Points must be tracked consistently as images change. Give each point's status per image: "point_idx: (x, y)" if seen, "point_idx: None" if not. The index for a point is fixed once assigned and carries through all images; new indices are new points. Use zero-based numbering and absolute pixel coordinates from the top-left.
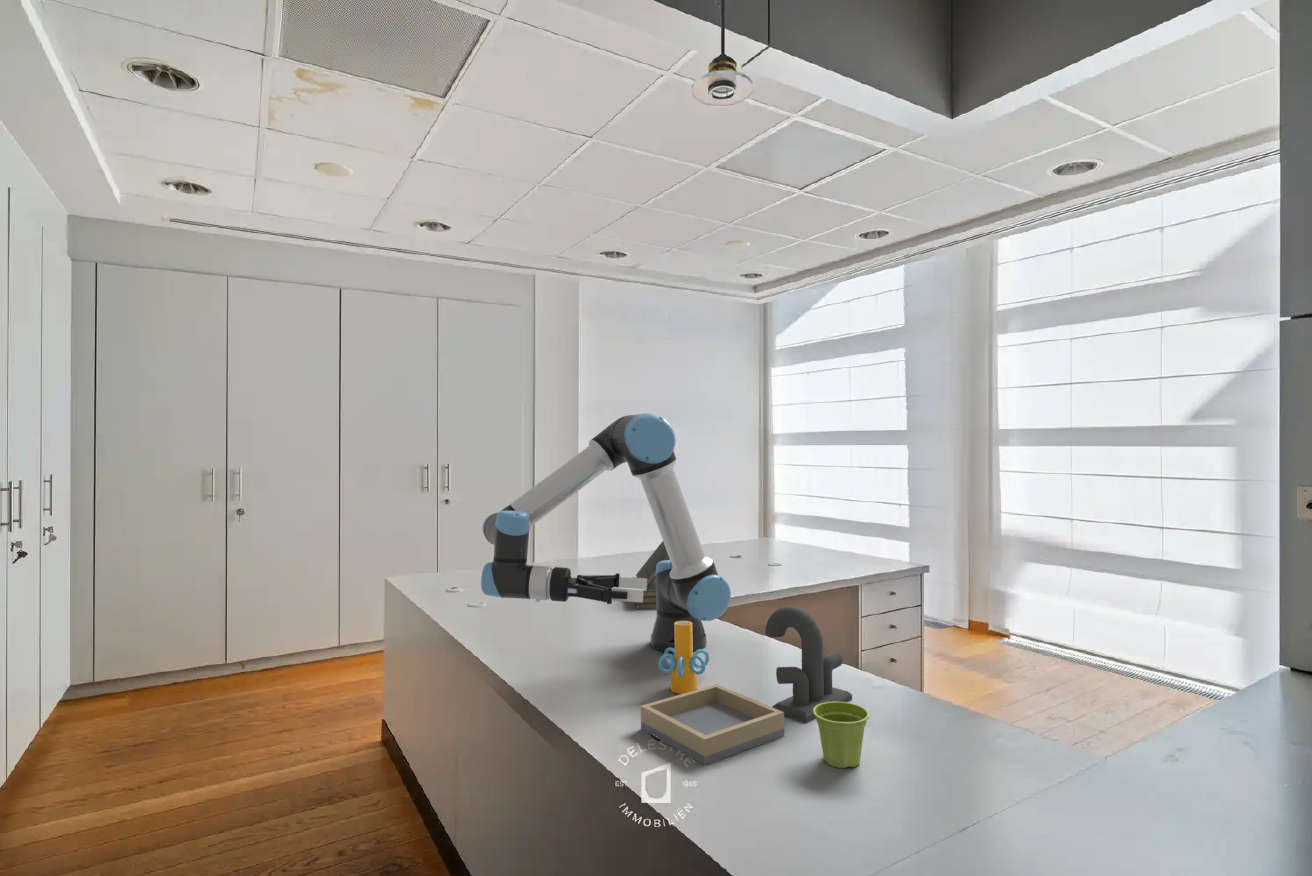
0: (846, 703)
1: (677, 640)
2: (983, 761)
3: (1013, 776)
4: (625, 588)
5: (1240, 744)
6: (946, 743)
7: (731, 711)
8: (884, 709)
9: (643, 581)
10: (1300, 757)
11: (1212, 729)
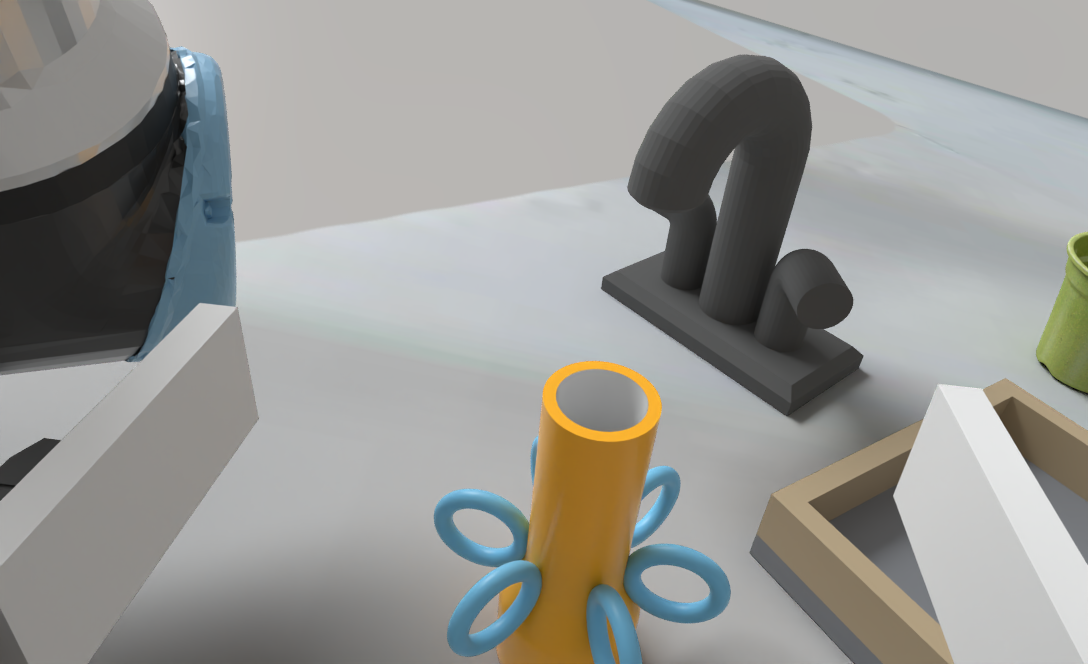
0: (1073, 246)
1: (630, 504)
2: (972, 212)
3: (1019, 206)
4: (1069, 556)
5: (818, 53)
6: (906, 221)
7: (886, 513)
8: None
9: (224, 354)
10: (846, 45)
11: (774, 48)
